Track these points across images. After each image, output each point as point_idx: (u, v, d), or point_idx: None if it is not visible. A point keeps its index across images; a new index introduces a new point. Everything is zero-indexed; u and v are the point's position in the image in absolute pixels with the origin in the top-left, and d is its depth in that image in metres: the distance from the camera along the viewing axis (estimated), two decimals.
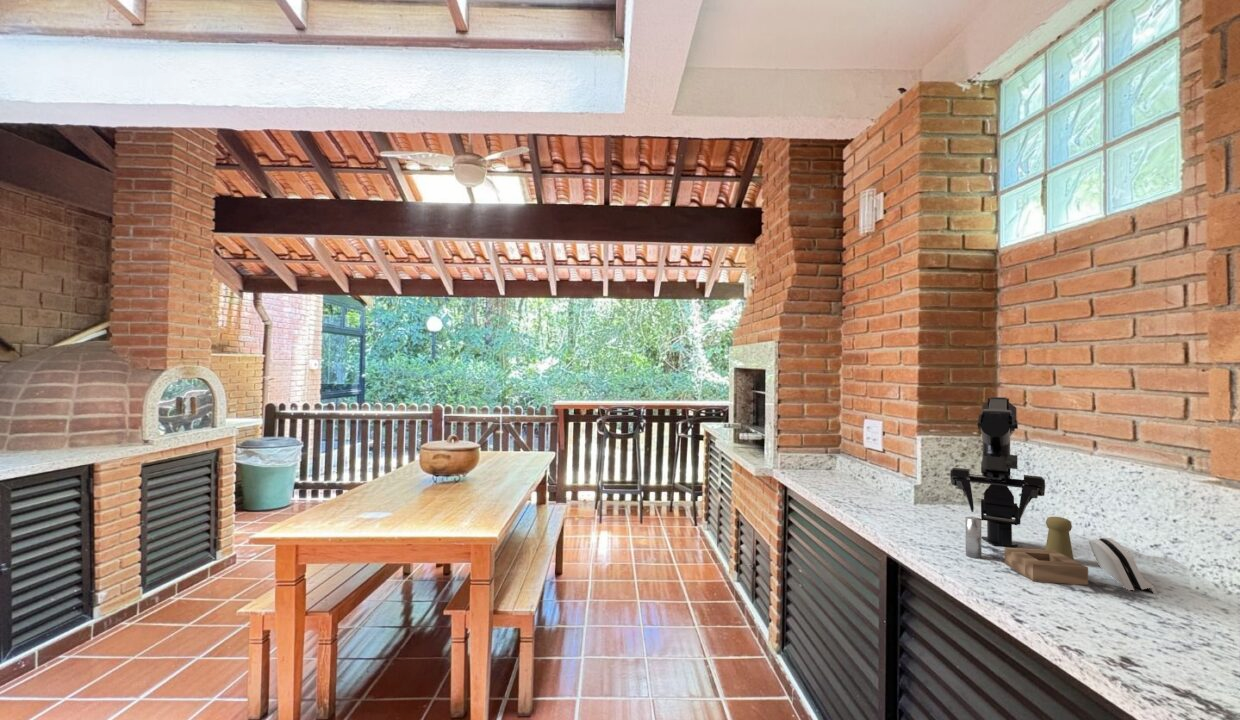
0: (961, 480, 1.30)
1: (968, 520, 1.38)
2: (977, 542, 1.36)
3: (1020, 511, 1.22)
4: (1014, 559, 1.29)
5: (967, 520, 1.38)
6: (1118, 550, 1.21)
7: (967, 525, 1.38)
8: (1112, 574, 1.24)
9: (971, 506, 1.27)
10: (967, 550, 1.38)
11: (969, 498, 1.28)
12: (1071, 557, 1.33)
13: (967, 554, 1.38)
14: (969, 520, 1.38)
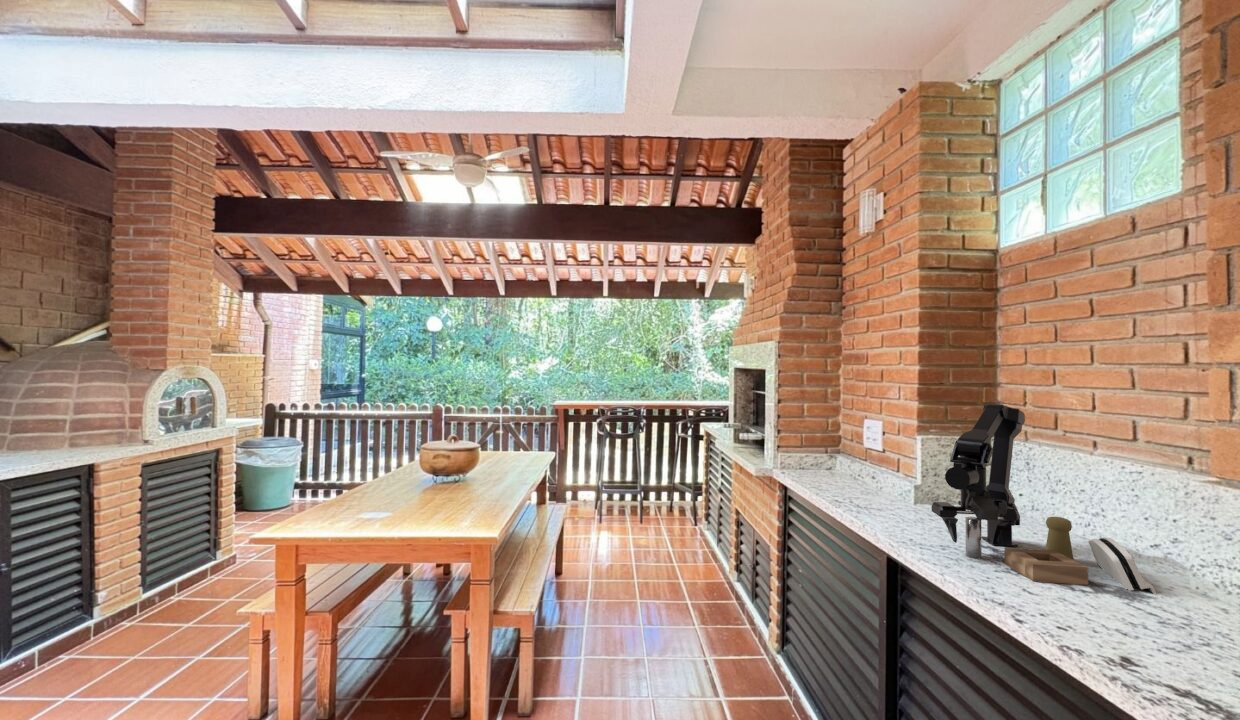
0: (950, 520, 1.37)
1: (968, 520, 1.38)
2: (977, 542, 1.36)
3: (994, 539, 1.37)
4: (1014, 559, 1.29)
5: (967, 520, 1.38)
6: (1117, 550, 1.21)
7: (967, 525, 1.38)
8: (1111, 574, 1.24)
9: (955, 539, 1.38)
10: (967, 550, 1.38)
11: (954, 532, 1.38)
12: (1071, 557, 1.33)
13: (967, 554, 1.38)
14: (969, 520, 1.38)
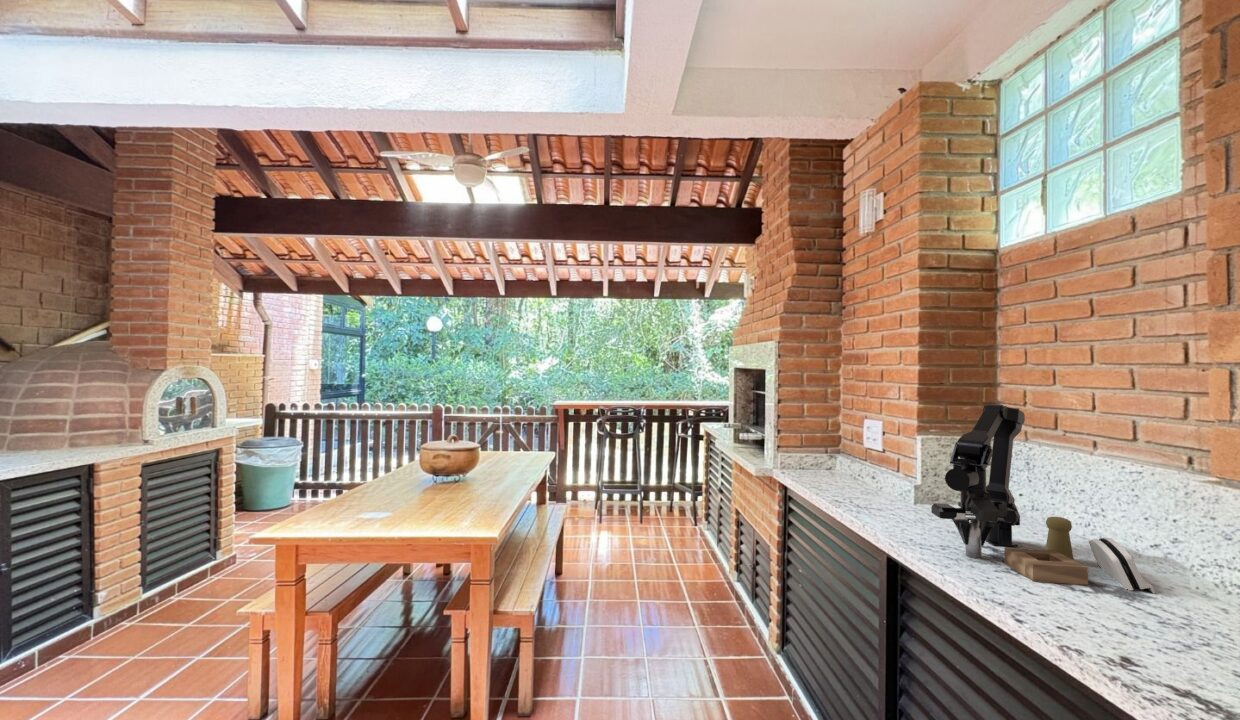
0: (960, 522, 1.36)
1: (968, 520, 1.38)
2: (977, 542, 1.36)
3: (983, 540, 1.37)
4: (1014, 559, 1.29)
5: (967, 520, 1.38)
6: (1117, 550, 1.21)
7: (967, 525, 1.38)
8: (1111, 574, 1.24)
9: (966, 541, 1.38)
10: (967, 550, 1.38)
11: (965, 534, 1.38)
12: (1071, 557, 1.33)
13: (967, 554, 1.38)
14: (969, 520, 1.38)
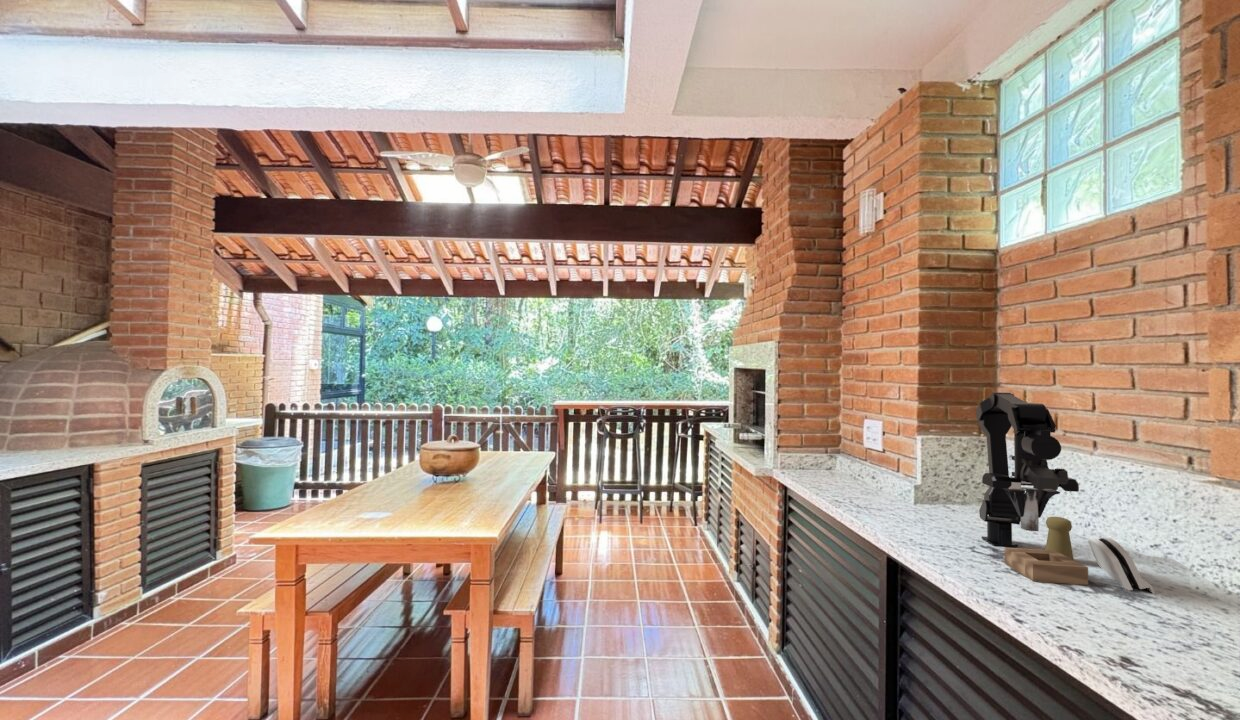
0: (1016, 492, 1.27)
1: None
2: (1034, 513, 1.27)
3: (1040, 512, 1.28)
4: (1014, 559, 1.29)
5: None
6: (1117, 550, 1.21)
7: None
8: (1111, 574, 1.24)
9: (1021, 513, 1.28)
10: (1023, 522, 1.28)
11: (1020, 505, 1.28)
12: (1071, 557, 1.33)
13: (1022, 527, 1.29)
14: (1025, 490, 1.28)
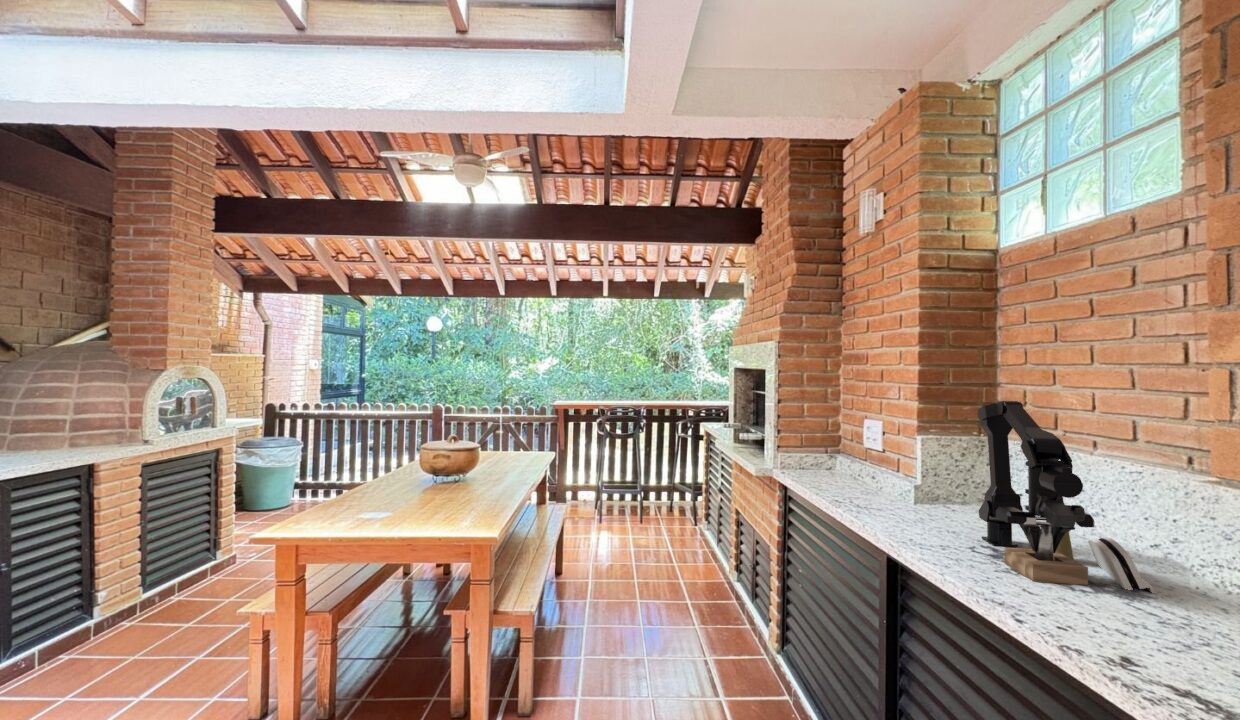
0: (1031, 527, 1.25)
1: (1038, 525, 1.26)
2: (1049, 549, 1.25)
3: (1055, 547, 1.26)
4: (1014, 559, 1.29)
5: None
6: (1117, 550, 1.21)
7: (1037, 531, 1.27)
8: (1111, 574, 1.24)
9: (1036, 548, 1.26)
10: (1038, 557, 1.26)
11: (1035, 541, 1.26)
12: (1071, 557, 1.33)
13: None
14: (1039, 525, 1.26)
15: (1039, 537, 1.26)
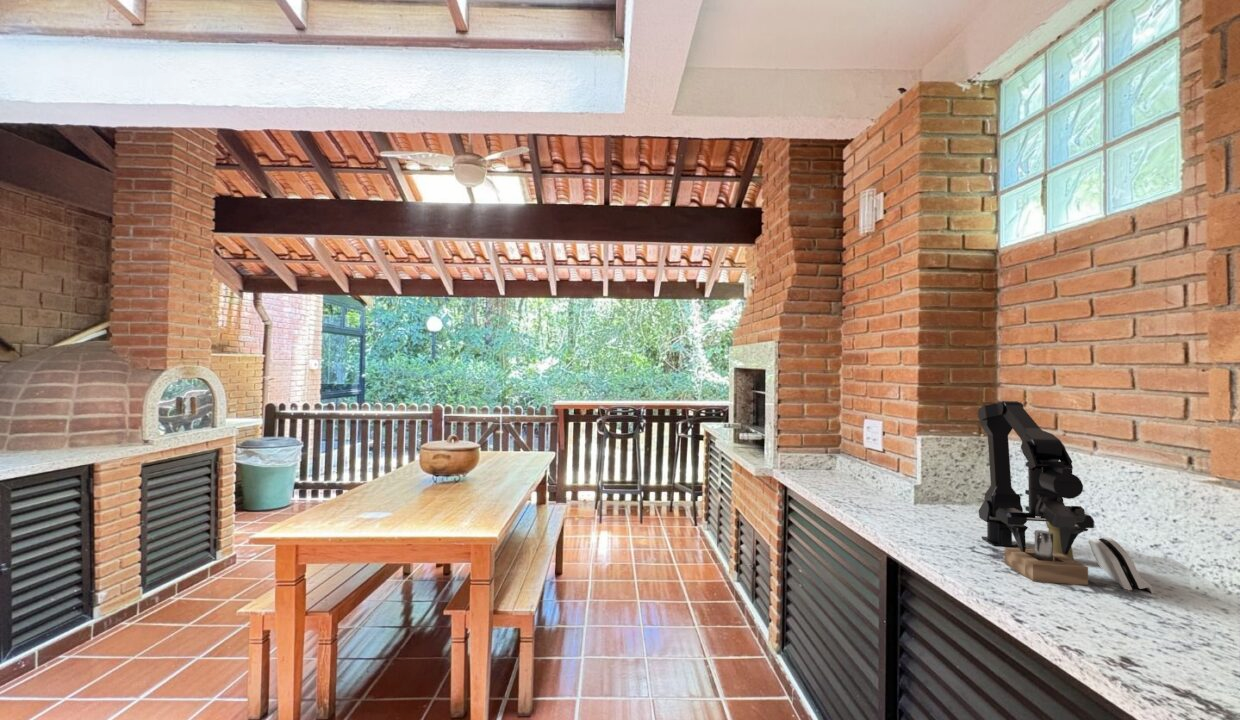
0: (1018, 528, 1.25)
1: (1038, 534, 1.26)
2: (1049, 558, 1.25)
3: (1068, 549, 1.25)
4: (1014, 559, 1.29)
5: (1037, 534, 1.27)
6: (1116, 550, 1.21)
7: (1037, 540, 1.26)
8: (1111, 574, 1.24)
9: (1023, 548, 1.27)
10: None
11: (1022, 541, 1.26)
12: (1071, 557, 1.33)
13: None
14: (1039, 534, 1.26)
15: (1039, 546, 1.26)
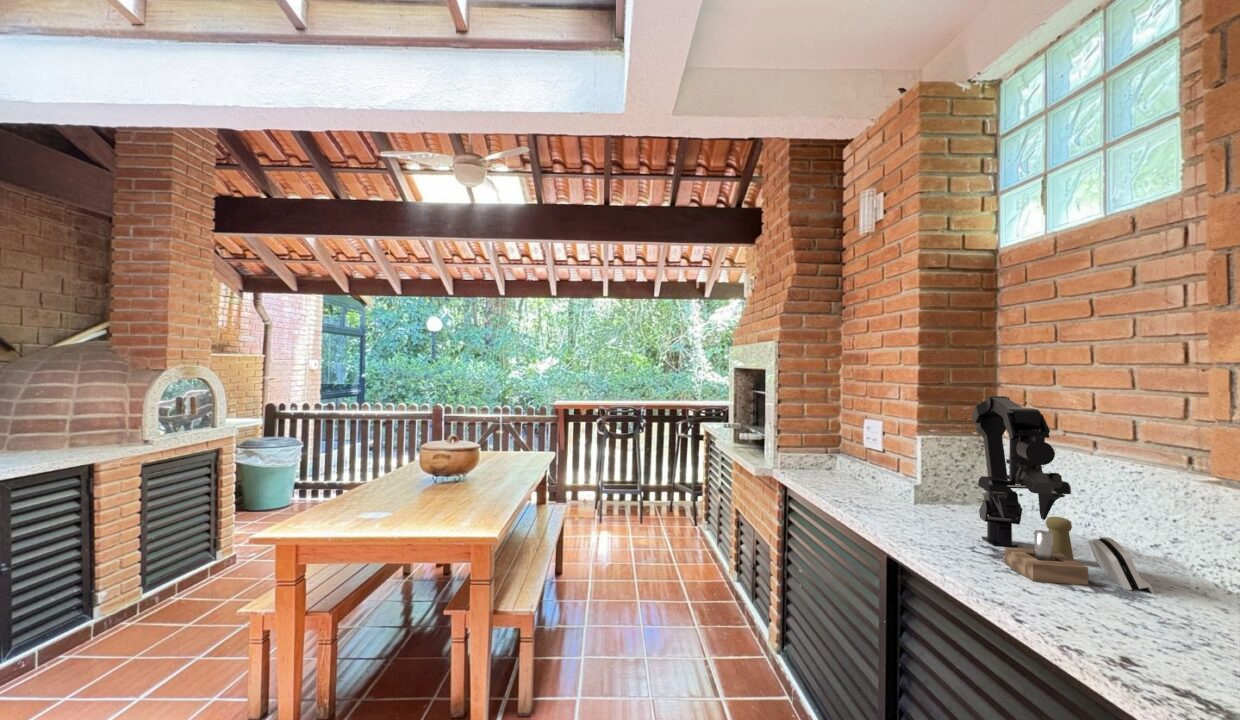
0: (999, 495, 1.31)
1: (1038, 534, 1.26)
2: (1049, 558, 1.25)
3: (1046, 514, 1.31)
4: (1014, 559, 1.29)
5: (1037, 534, 1.27)
6: (1116, 550, 1.21)
7: (1037, 540, 1.26)
8: (1110, 574, 1.24)
9: (1004, 514, 1.33)
10: None
11: (1003, 508, 1.32)
12: (1071, 557, 1.33)
13: None
14: (1039, 534, 1.26)
15: (1039, 546, 1.26)
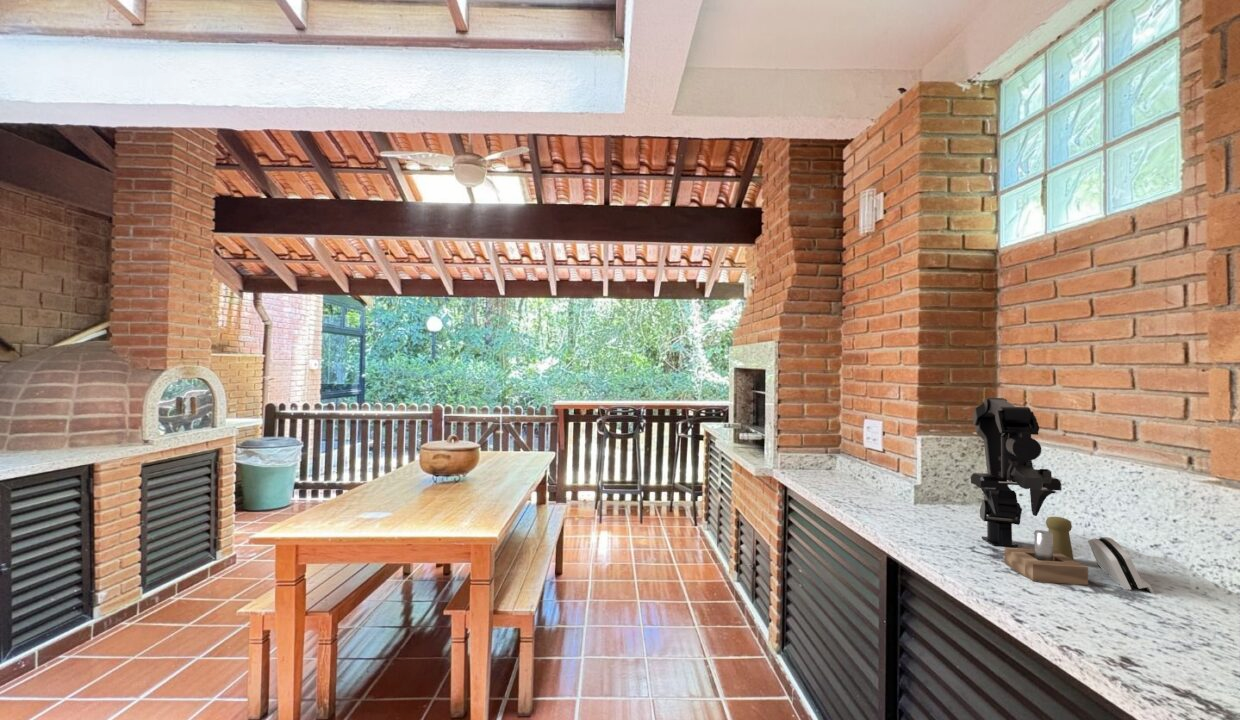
0: (991, 490, 1.33)
1: (1038, 534, 1.26)
2: (1049, 558, 1.25)
3: (1037, 510, 1.33)
4: (1014, 559, 1.29)
5: (1037, 534, 1.27)
6: (1116, 549, 1.21)
7: (1037, 540, 1.26)
8: (1110, 573, 1.24)
9: (996, 510, 1.35)
10: None
11: (995, 503, 1.35)
12: (1071, 557, 1.33)
13: None
14: (1039, 534, 1.26)
15: (1039, 546, 1.26)
